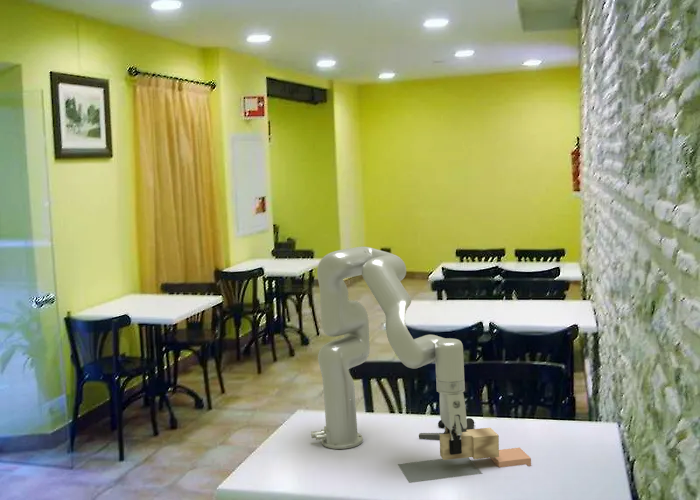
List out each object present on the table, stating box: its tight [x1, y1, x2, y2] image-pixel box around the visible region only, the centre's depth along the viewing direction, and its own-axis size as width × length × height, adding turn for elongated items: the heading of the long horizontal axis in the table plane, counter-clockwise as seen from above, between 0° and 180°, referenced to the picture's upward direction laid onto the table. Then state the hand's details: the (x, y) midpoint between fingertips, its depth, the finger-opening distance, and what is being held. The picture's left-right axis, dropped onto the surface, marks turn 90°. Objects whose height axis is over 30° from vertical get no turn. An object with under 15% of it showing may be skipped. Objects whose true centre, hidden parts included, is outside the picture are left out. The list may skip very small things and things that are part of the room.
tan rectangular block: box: [490, 447, 532, 468], centre depth 204 cm, size 3×8×9 cm
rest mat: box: [397, 457, 483, 484], centre depth 201 cm, size 20×13×1 cm, turn 99°
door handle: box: [418, 417, 475, 441], centre depth 227 cm, size 3×20×16 cm
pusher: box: [439, 427, 500, 460], centre depth 201 cm, size 15×6×6 cm, turn 99°
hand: (453, 450), depth 201 cm, fingers closed on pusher, 3 cm apart
